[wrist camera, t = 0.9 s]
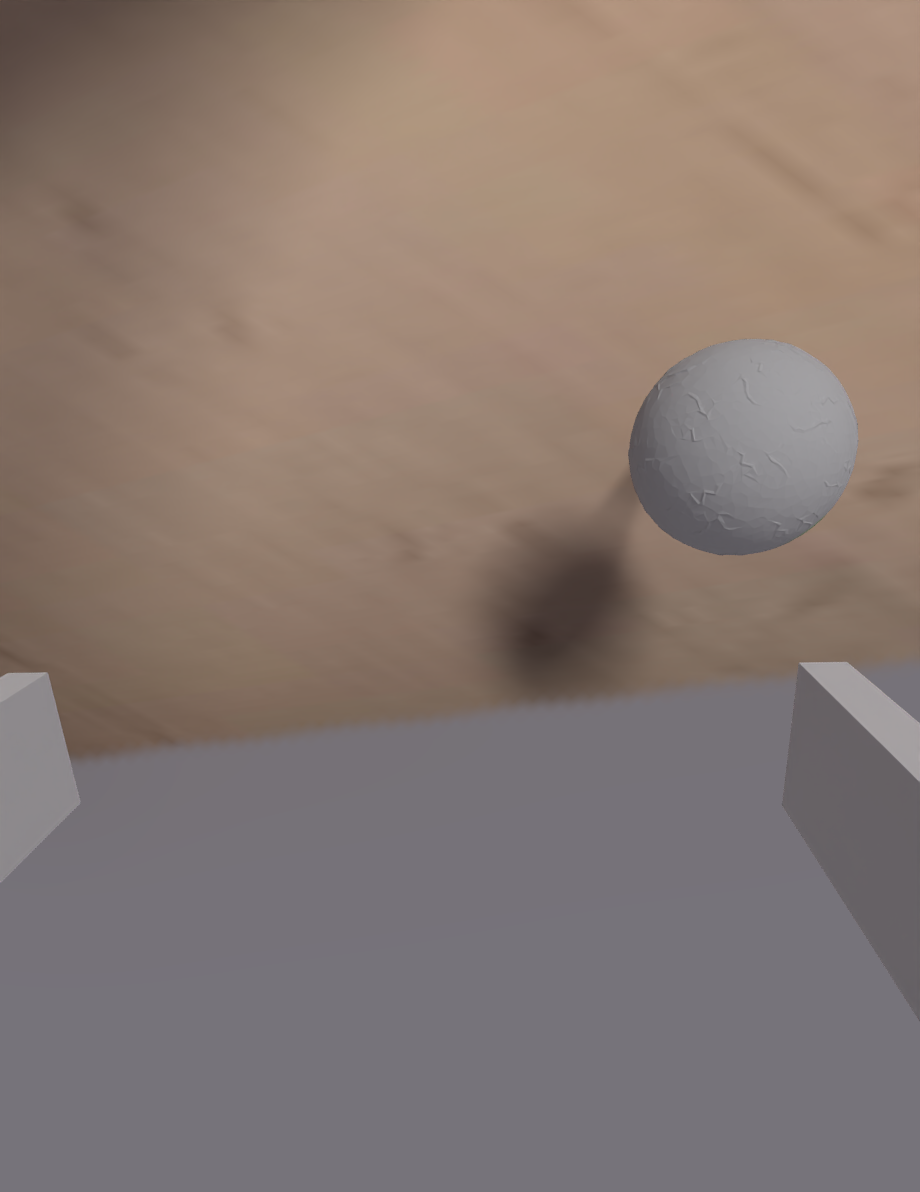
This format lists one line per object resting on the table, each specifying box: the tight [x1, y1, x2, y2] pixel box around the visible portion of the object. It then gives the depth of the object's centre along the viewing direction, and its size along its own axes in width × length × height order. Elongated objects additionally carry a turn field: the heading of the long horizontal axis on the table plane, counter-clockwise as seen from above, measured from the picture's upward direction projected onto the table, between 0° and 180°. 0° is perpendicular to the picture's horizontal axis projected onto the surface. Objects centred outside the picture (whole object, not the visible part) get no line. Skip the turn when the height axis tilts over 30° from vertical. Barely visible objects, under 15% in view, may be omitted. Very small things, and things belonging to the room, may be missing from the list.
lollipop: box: [628, 339, 858, 555], centre depth 27 cm, size 7×7×15 cm
